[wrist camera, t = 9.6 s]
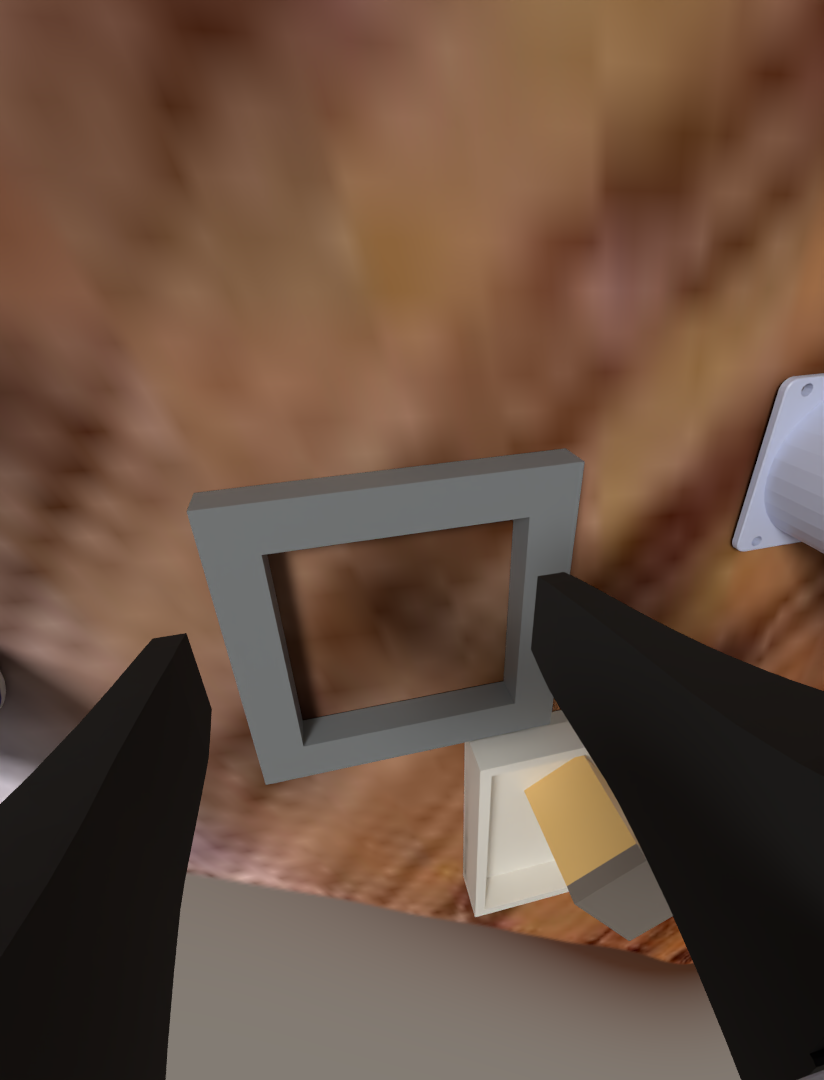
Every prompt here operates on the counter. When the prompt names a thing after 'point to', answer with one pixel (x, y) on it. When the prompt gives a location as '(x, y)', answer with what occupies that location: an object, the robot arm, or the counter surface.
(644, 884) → the tan and grey block
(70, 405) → the counter surface
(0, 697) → the energy drink
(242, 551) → the gray square ring
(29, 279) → the counter surface
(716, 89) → the counter surface
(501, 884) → the parts tray
